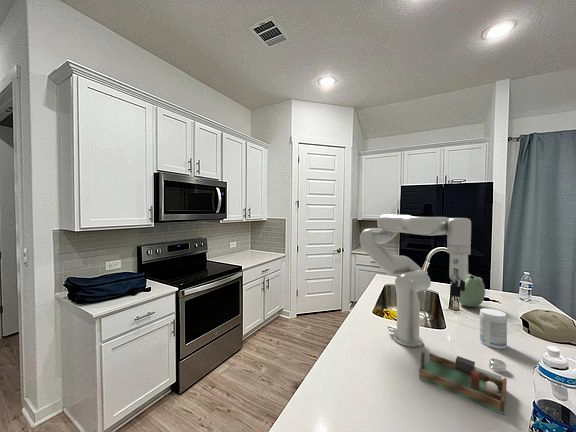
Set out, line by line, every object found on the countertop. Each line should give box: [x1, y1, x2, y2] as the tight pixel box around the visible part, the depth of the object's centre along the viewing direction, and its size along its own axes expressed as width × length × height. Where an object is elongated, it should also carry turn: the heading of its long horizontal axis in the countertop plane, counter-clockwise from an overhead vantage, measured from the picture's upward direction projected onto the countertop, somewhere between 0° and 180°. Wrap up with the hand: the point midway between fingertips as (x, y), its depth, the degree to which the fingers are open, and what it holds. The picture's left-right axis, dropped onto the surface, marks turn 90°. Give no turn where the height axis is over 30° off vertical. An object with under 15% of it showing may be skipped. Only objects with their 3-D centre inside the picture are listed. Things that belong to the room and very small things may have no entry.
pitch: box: [418, 351, 508, 416], centre depth 86 cm, size 24×14×6 cm, turn 46°
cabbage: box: [458, 273, 486, 308], centre depth 158 cm, size 16×19×20 cm
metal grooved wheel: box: [488, 358, 507, 374], centre depth 95 cm, size 5×3×5 cm
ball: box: [484, 381, 499, 393], centre depth 80 cm, size 4×4×4 cm
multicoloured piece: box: [455, 355, 503, 390], centre depth 83 cm, size 12×3×7 cm, turn 46°
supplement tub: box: [479, 307, 508, 350], centre depth 112 cm, size 10×10×15 cm
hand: (457, 293), depth 97 cm, fingers open, 9 cm apart
